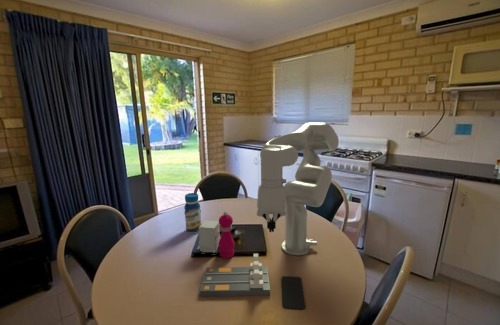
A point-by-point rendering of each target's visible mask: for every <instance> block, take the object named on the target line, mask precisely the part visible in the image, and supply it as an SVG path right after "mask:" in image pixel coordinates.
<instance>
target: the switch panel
mask: <svg viewBox="0 0 500 325" xmlns="http://www.w3.org/2000/svg"><path fill="white" fill-rule="evenodd" d="M268 269H269V268H268V266H262V270H259V271H262V274H263V279H259V280H263V288H250V280H254V279H250V271H254V270H250V266H235V267H234V266H233V267H232V266H231V267H228V266H227V267H225V266H224V267H222V266H221V267H206V268H205V271H204V274H203V278H202V282H201V286H200V289H199V296H200V297H214V296H215V297H221V296H222V297H225V296H226V297H228V296H230V297H231V296H233V297H234V296H270V295H271V287H270V286H271V285H270V276H269V270H268Z"/></svg>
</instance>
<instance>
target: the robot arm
mask: <svg viewBox="0 0 500 325" xmlns="http://www.w3.org/2000/svg"><path fill="white" fill-rule="evenodd" d="M339 143H340V141H339V136H338V134H337V132H336V131H335V129H334V128H333V126H331V125H330V124H329V123H327V122H306V123H303V124H301V125H300V126H298V127H297V129H295V130H293V132H290V133H287V134H283V135H280V136H277V137H273V138H272V139H270V140H268V141H267V142H266V143H264V144H263V146H262V147H261V149H260V152H259V157H260V185H258V189H257V200H256V201H257V202H256V208H257V211H256V216H257V217H261V218H263V219H265V221H266V228H267V229H268V231H269V233H274V231H275V229H276V227H277V226H276V222H277V220H279V218H281V217H284V218H285V219H284V221H285V222H284V224H285V225H284V226H285V228H284V229H285V230H284V232H285V234H284V236H285V237H284V241H283V242H282V243H281V250H282V251H283V252H285V253H286V254H288V255H292V256H304V255H306V254H308V253H309V252H310V249H311V248H310V247H311V246H315V247H316V246H318V242H317V240H314V239H313V238H309V239H308V238H307V233H308V228H307V227H308V211H307V208H306V206H308V207H314V208H319V207H321V206H322V205H323V204H324V201H325V198H326V196H327V193H328V191H329V188H330V185H331V183H332V180H333V179H332V178H333V174H332V170H331V169H330V168H329V167H327V166H325V165H321V163H322V162H321V161H322V160H321V159H320V156H319V155H318V153H317V152H316V151H321V152H335V151H336V150H337V149H338V147H339ZM301 151H302V152H303V155H302V156H303V158H302V160H301V162H300V163H299V166H298V168H297V169H296V172H295V175H294V179H295V180H290V181H288V182H287V179H286V178H283V167H290V166H293V165H295V164H296V162H297V161H298V159H299V152H301ZM270 215H272V217H270Z"/></svg>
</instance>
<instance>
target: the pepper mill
mask: <svg viewBox="0 0 500 325" xmlns="http://www.w3.org/2000/svg"><path fill="white" fill-rule="evenodd" d="M218 221H219V229H220V232H221V235H220V241H219V249H218V250H219V256H220V257H221V258H223V259H229V258H232V257H234V255H235V247H236V243H235V240H234V238H233V236H232V230H233V221H234V219H233V217H232V216H231V215H230V214H228V212H227V211H224V212H223V214H222V215H220V216H219V219H218Z"/></svg>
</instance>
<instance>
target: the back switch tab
mask: <svg viewBox="0 0 500 325" xmlns="http://www.w3.org/2000/svg"><path fill="white" fill-rule="evenodd" d="M254 261H259V253H253V262H250V265H249V267H250V270H254ZM262 267H263V264H262V262H259V270H262Z"/></svg>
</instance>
